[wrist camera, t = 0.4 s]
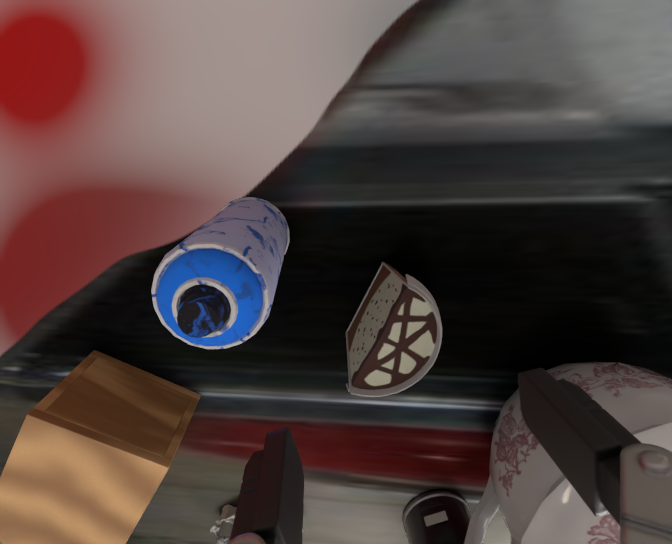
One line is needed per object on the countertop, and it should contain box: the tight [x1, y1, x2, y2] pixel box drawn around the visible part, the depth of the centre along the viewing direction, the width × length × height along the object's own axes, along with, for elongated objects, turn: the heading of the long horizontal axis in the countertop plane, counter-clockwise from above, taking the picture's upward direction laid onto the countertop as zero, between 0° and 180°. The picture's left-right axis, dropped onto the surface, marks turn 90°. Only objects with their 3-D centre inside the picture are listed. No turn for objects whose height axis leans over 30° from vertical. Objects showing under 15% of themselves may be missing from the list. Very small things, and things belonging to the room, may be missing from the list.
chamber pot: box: [464, 362, 672, 544], centre depth 40 cm, size 28×27×21 cm
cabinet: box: [0, 350, 201, 544], centre depth 41 cm, size 16×13×11 cm
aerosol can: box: [151, 197, 290, 349], centre depth 30 cm, size 8×8×20 cm
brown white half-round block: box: [346, 262, 442, 397], centre depth 39 cm, size 12×6×10 cm, turn 155°
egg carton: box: [210, 504, 304, 544], centre depth 50 cm, size 11×8×4 cm
